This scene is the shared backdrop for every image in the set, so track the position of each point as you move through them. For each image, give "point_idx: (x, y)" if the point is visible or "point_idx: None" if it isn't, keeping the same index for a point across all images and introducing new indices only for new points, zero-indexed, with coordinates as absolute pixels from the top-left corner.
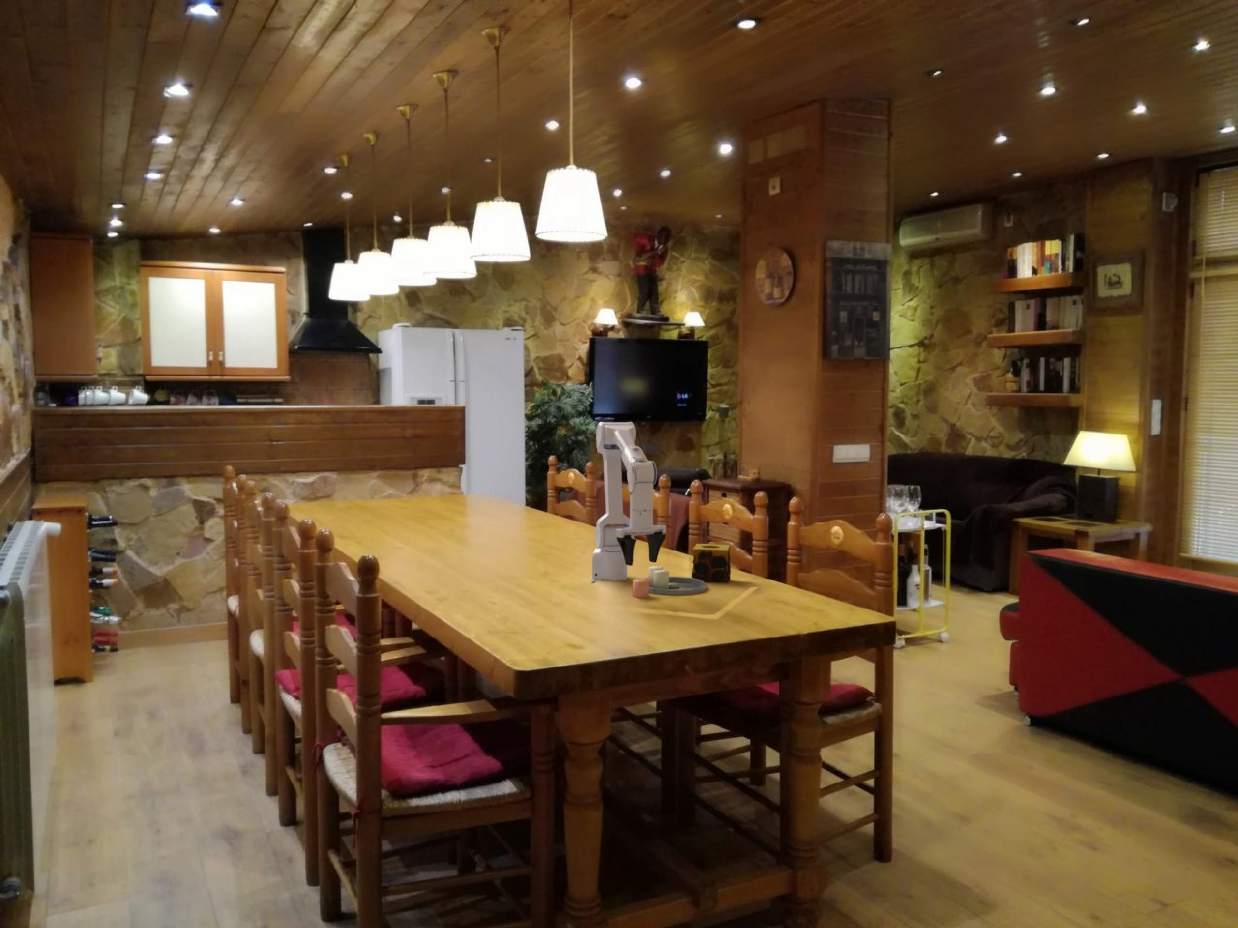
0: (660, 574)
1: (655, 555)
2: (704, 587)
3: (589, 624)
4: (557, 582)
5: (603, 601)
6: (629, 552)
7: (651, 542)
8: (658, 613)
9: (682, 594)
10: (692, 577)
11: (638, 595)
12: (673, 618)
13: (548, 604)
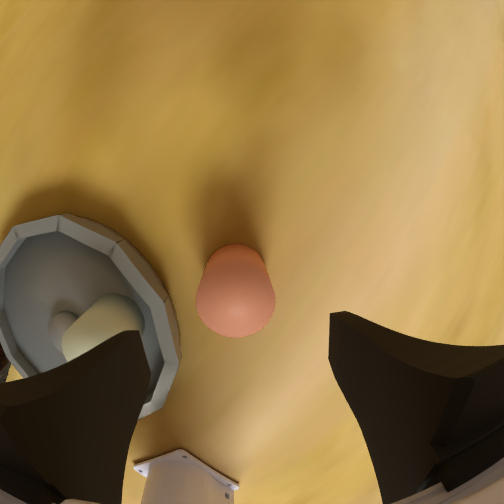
0: (106, 330)
1: (118, 348)
2: (3, 244)
3: (493, 108)
4: (304, 494)
5: (356, 314)
6: (412, 339)
7: (103, 455)
8: (299, 66)
9: (83, 221)
10: (3, 364)
11: (261, 260)
12: (292, 3)
13: (465, 336)
